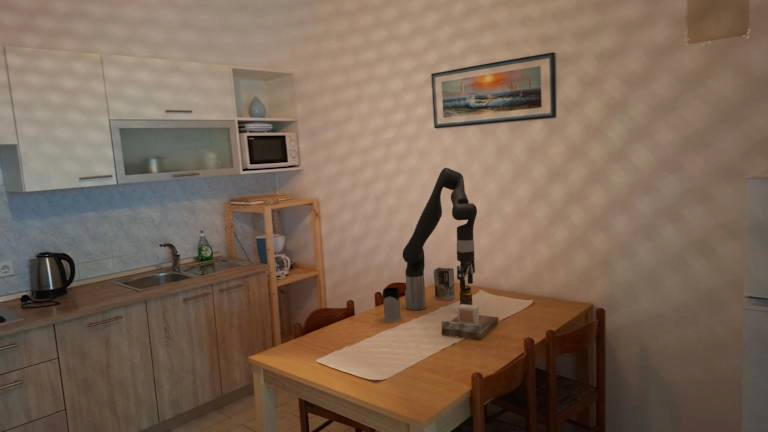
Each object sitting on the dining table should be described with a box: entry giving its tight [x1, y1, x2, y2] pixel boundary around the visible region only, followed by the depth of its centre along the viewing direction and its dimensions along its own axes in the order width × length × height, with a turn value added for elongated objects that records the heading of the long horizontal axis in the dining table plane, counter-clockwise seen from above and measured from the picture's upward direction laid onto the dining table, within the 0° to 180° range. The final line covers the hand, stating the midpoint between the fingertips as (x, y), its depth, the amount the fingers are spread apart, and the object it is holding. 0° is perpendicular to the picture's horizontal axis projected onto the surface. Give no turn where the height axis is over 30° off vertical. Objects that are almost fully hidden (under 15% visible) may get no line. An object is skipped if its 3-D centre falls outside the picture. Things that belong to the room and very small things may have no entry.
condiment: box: [459, 285, 473, 306], centre depth 257 cm, size 7×8×12 cm
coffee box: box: [433, 267, 456, 301], centre depth 280 cm, size 9×6×16 cm
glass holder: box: [382, 287, 403, 324], centre depth 253 cm, size 9×14×15 cm, turn 166°
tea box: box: [457, 304, 480, 325], centre depth 230 cm, size 5×8×8 cm, turn 59°
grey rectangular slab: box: [441, 314, 499, 341], centre depth 232 cm, size 18×22×6 cm
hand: (466, 286), depth 228 cm, fingers open, 8 cm apart
